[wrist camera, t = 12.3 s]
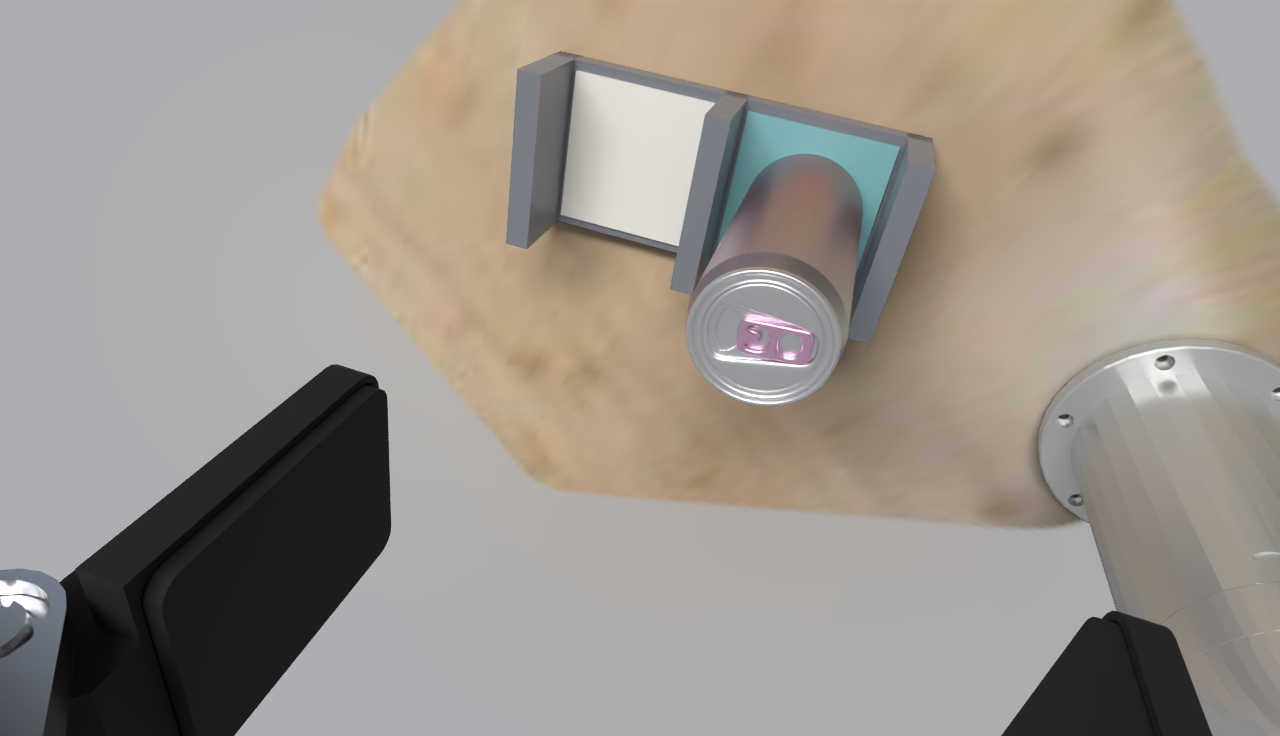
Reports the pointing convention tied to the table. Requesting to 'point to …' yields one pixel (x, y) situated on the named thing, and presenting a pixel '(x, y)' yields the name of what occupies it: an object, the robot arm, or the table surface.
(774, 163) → the beverage can
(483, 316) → the table surface
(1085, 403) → the robot arm
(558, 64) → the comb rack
